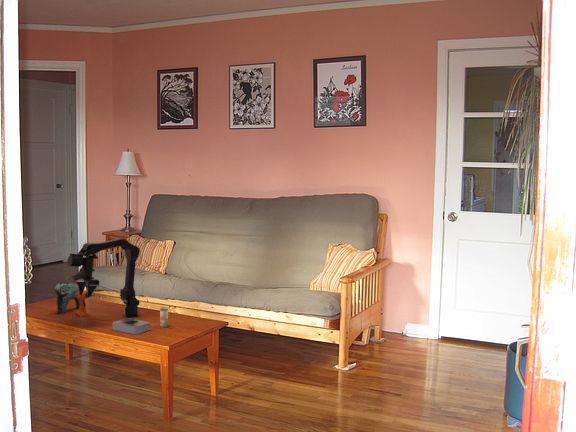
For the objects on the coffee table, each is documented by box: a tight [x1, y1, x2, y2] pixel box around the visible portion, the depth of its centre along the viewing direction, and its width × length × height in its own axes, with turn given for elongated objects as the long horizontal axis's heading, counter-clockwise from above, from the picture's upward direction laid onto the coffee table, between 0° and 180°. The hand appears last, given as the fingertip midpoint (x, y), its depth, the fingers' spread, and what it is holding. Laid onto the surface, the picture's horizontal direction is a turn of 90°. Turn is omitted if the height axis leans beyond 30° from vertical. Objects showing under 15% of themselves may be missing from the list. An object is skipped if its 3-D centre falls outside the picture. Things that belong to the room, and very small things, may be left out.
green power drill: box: [54, 276, 79, 315], centre depth 348 cm, size 20×6×20 cm, turn 155°
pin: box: [159, 306, 169, 328], centre depth 317 cm, size 4×4×10 cm
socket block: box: [112, 317, 151, 335], centre depth 309 cm, size 10×16×4 cm, turn 59°
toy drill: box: [76, 290, 96, 318], centre depth 335 cm, size 5×19×15 cm, turn 47°
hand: (84, 296), depth 320 cm, fingers open, 9 cm apart
